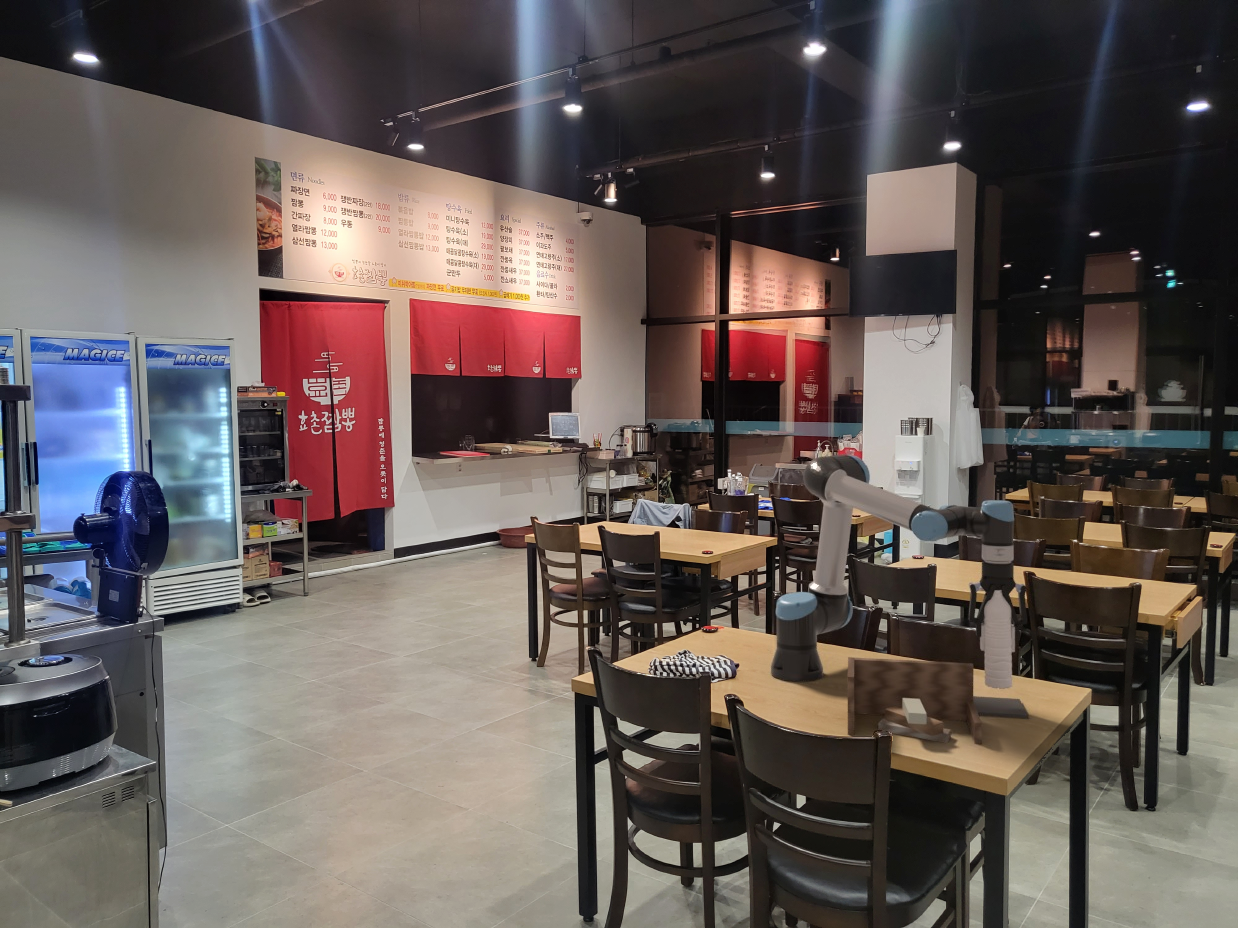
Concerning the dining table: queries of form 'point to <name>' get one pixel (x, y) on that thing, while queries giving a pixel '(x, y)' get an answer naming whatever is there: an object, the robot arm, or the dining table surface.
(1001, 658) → the water bottle
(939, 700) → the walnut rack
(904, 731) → the offcut bottom
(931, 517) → the robot arm
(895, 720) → the offcut middle
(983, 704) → the rubber mat
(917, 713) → the offcut top
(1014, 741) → the dining table surface
